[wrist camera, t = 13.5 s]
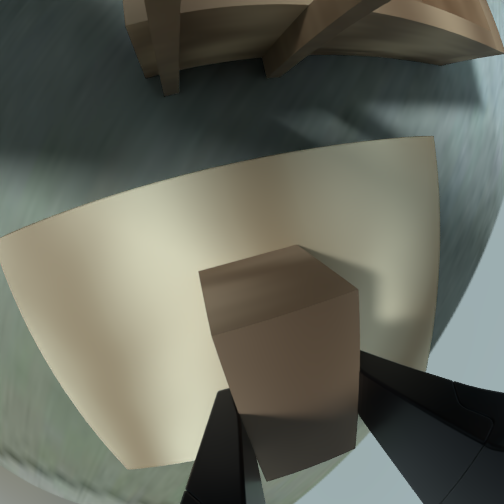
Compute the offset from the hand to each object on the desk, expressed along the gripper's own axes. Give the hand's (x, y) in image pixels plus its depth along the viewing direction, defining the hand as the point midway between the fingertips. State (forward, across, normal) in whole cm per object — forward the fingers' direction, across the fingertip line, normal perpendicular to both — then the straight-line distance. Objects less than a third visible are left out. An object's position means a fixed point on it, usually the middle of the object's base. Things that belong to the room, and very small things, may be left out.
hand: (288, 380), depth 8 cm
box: (+6, -6, -16) cm, 18 cm away
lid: (+3, 0, 0) cm, 3 cm away
